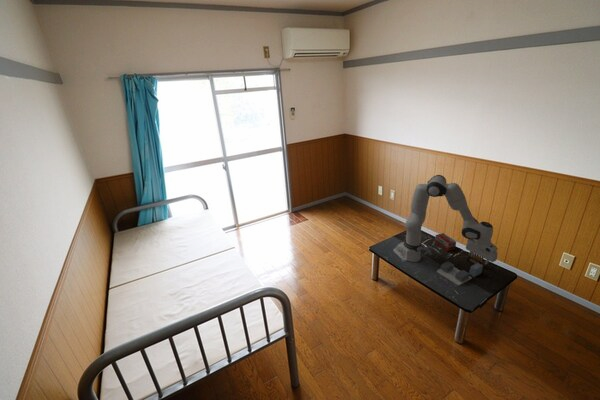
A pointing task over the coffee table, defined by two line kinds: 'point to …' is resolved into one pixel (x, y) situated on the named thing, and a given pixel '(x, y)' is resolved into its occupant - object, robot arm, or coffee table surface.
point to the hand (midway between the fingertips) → (479, 260)
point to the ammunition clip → (475, 259)
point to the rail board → (453, 273)
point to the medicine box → (445, 242)
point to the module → (475, 269)
